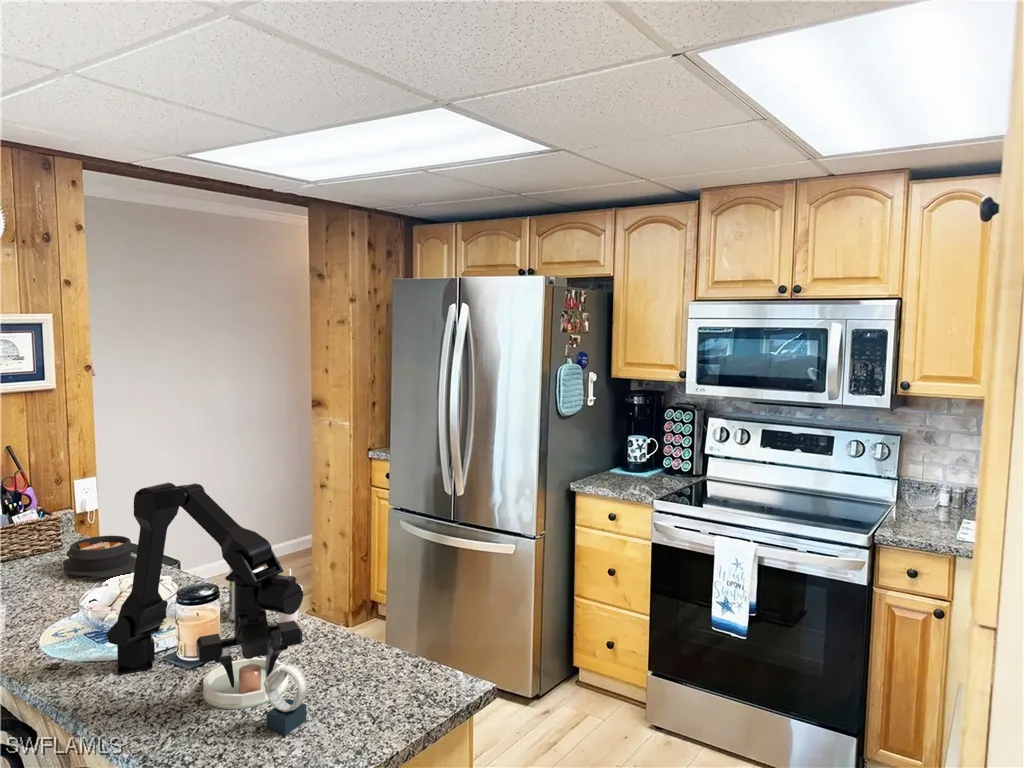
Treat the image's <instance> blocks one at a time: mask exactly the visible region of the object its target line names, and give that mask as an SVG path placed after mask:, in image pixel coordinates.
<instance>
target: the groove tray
mask: <svg viewBox="0 0 1024 768" xmlns="http://www.w3.org/2000/svg"><path fill="white" fill-rule="evenodd" d="M249 664H257V665H260V666H261V690H259V691H254V692H250V693H245V694H239V669H240V668H241V667H243V666H245V665H249ZM282 664H285V663H283V662H281V661H278V660H276V662H275V664H274V667H273V670H274V669H275V668H277V667H278V666H280V665H282ZM232 667H233V674H234V687H233V688H232V687H231V684H230V681H229V678H228V675H227V672H226V670H225V668H224V666H223V665H222V664H221V665H220V666H218V667H216V668H214V669H211V670H210V671H209V673H208V674H207V675H206V676H205V677H204V678H203V679H202V680H203V681H202V682H203V683H202V685H203V686H202V698H204V699H203V700H204V702H205V703H206V704H207V705H209V704H210V705H209V706H212V707H214V708H218V709H223V710H244V709H250V707H251V708H255V707H258V706H262V705H266V704H267V703H269V702H270V700H269V698H268V696H267V694H266V692H265V687H264V681H265V680H266V673H265V667H266V657H264V658H260V657H253V658H252V659H245V658H244V659H243V658H242V659H239V660H232ZM273 670H272V671H273ZM288 687H289V674H288V675H287V677H286V678H285V680H284V681H283V682H282V683H281V684H280V686H279V687H277V689H278V692H279V694H280V696H283V694H284V693H285V692H286V691H287V689H288ZM272 697H273V696H272ZM270 703H271V702H270Z"/></svg>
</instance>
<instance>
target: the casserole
mask: <svg viewBox="0 0 1024 768" xmlns="http://www.w3.org/2000/svg"><path fill="white" fill-rule="evenodd" d="M134 548H135V545H134V544H133V543H132V542H131V539H130V538H129V537H127V536H122V535H99V536H92V537H88V538H83V539H80V540H78V541H75V542H73V543H72V544H71V545H70V546H69V549H68V550H67V552H66V554H65V555H66V556H67V557H68V558H67V559H65V560H63V561H62V565H63V569H62V570H63V572H64V573H65V574H68V575H72V576H79V577H86V578H92V577H93V578H103V579H104V578H111V577H117V576H121V575H124V574H125V575H126V574H128V573H132V572H134V570H135V563H136V556H134V555H132V550H133V549H134Z"/></svg>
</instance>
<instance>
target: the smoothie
mask: <svg viewBox="0 0 1024 768" xmlns="http://www.w3.org/2000/svg"><path fill="white" fill-rule="evenodd" d="M288 576H292V569H291V568H288ZM298 584H299V585H300V586H301V588H302V591H303V592H304V590H303V585H301V584H300V583H298ZM299 611H300V608H299V609H298V610H297V611H296V612H295V613H294V614H291V615H288V614H284V613H279V612H278V619H279V623H282V622H288V621H293V620H294V621H295V622H296V623H297V624H298V618H299Z"/></svg>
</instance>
